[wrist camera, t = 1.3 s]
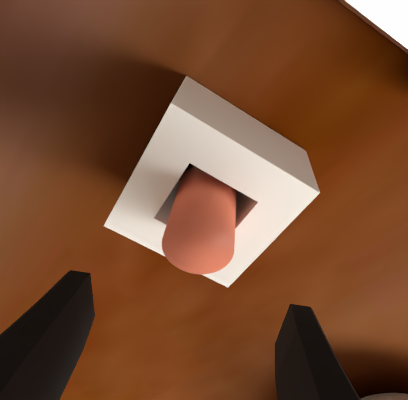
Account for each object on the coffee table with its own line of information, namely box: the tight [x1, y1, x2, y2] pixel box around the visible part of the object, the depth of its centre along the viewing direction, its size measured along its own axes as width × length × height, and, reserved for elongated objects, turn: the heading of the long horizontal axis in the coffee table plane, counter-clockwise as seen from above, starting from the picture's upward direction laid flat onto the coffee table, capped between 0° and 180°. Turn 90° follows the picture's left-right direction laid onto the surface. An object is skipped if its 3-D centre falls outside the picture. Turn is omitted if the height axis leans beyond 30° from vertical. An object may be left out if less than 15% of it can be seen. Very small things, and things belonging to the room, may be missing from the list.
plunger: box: [162, 166, 237, 274], centre depth 15 cm, size 3×3×4 cm
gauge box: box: [104, 76, 320, 287], centre depth 17 cm, size 7×7×4 cm
